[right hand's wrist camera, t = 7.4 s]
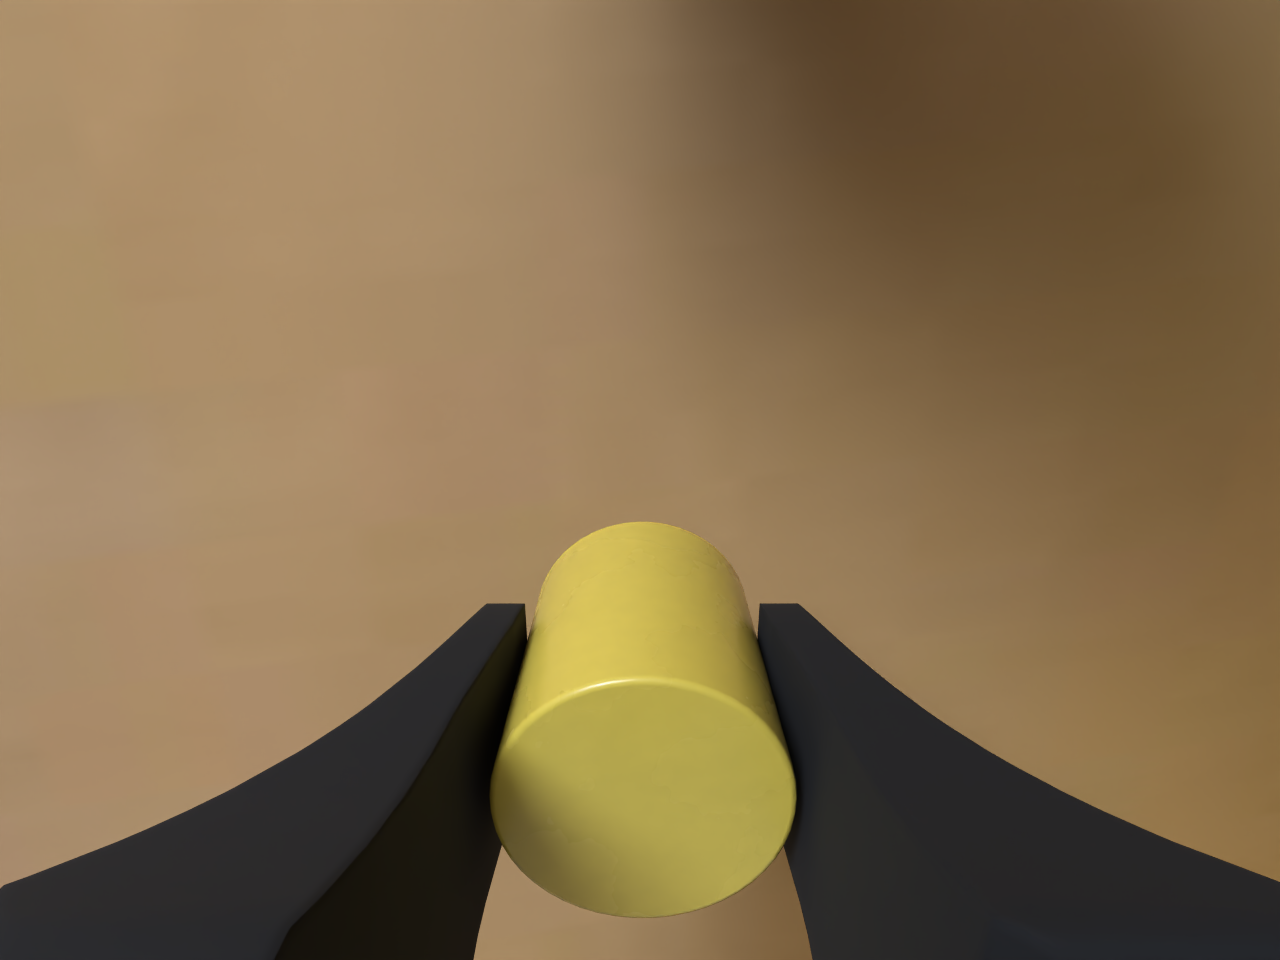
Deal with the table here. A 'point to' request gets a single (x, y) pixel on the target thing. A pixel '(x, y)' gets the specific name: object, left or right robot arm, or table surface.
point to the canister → (642, 731)
